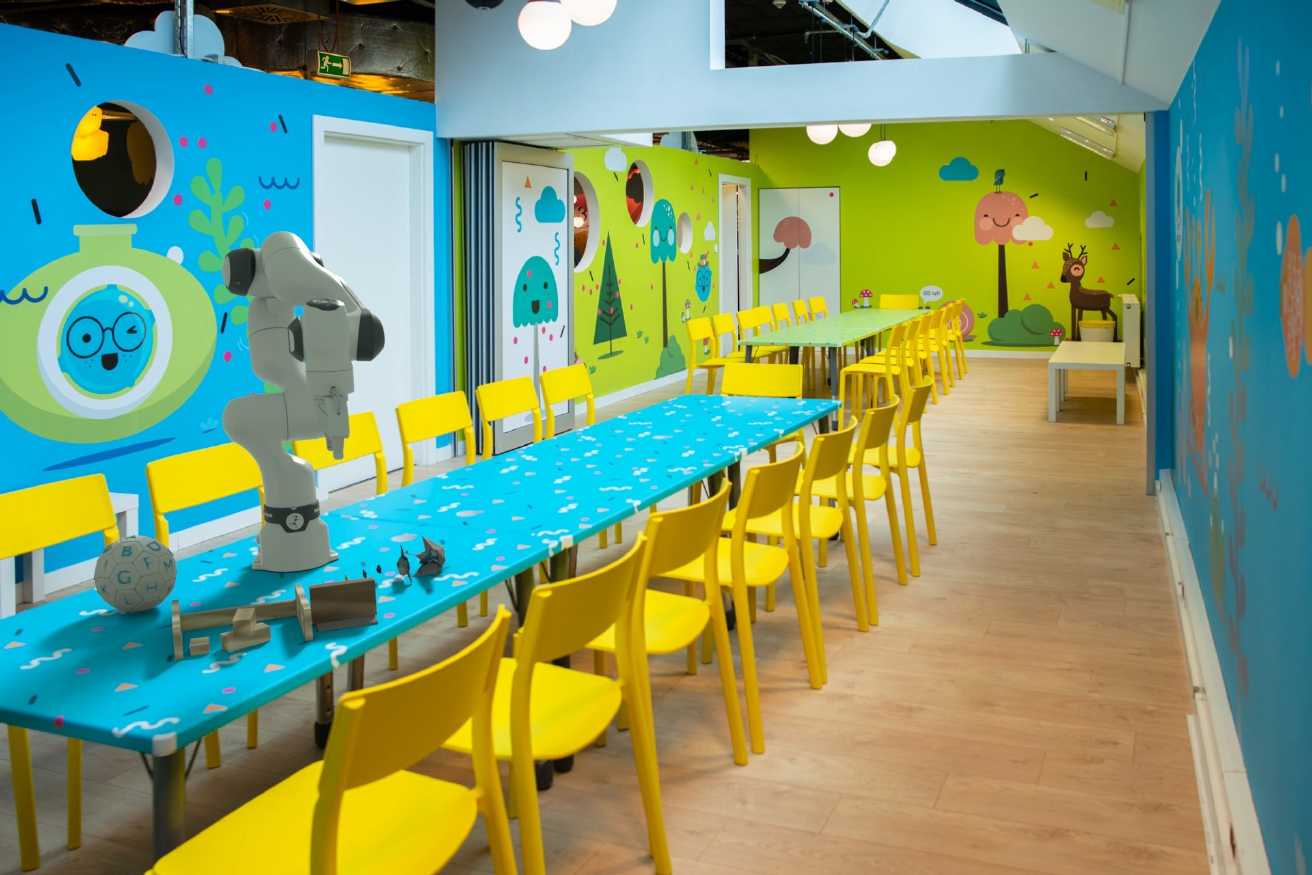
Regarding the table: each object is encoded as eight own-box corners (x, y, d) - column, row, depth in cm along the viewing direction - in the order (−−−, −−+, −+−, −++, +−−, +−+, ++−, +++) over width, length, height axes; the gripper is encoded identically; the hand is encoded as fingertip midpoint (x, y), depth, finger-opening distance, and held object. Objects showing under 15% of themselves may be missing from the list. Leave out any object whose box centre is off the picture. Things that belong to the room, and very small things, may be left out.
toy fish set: (454, 568, 243) (442, 529, 244) (339, 602, 230) (327, 560, 231) (439, 577, 252) (428, 539, 253) (328, 609, 239) (316, 569, 240)
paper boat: (443, 571, 246) (400, 563, 244) (439, 590, 250) (397, 583, 248) (451, 531, 255) (410, 523, 253) (447, 550, 259) (406, 542, 257)
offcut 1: (191, 649, 206) (190, 638, 206) (209, 647, 207) (208, 636, 207) (190, 656, 203) (189, 645, 202) (209, 654, 204) (208, 643, 203)
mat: (312, 616, 222) (311, 614, 222) (369, 608, 226) (369, 606, 226) (318, 632, 213) (318, 630, 213) (378, 623, 217) (378, 621, 217)
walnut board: (311, 620, 218) (308, 585, 217) (375, 611, 223) (373, 576, 222) (312, 624, 216) (310, 588, 215) (377, 614, 221) (374, 579, 220)
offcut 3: (221, 649, 206) (220, 633, 205) (263, 638, 212) (261, 622, 211) (229, 653, 204) (228, 637, 203) (271, 641, 210) (270, 625, 209)
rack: (174, 630, 216) (171, 599, 215) (302, 612, 225) (300, 583, 223) (175, 660, 200) (172, 627, 199) (313, 639, 209) (310, 608, 208)
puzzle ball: (188, 595, 237) (181, 525, 235) (169, 619, 222) (162, 544, 220) (111, 600, 235) (103, 529, 232) (86, 624, 220) (78, 549, 218)
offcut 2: (233, 637, 204) (232, 620, 203) (239, 624, 210) (237, 608, 210) (251, 635, 204) (250, 619, 204) (256, 622, 211) (255, 607, 210)
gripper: (355, 389, 212) (359, 462, 215) (339, 377, 231) (344, 444, 233) (320, 392, 210) (325, 466, 212) (307, 379, 228) (312, 447, 231)
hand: (335, 454), depth 223 cm, fingers open, 8 cm apart
